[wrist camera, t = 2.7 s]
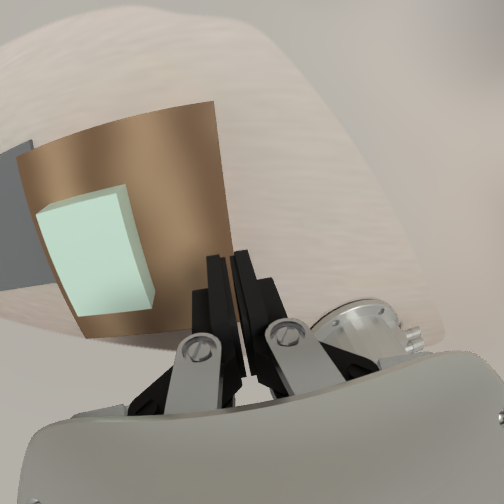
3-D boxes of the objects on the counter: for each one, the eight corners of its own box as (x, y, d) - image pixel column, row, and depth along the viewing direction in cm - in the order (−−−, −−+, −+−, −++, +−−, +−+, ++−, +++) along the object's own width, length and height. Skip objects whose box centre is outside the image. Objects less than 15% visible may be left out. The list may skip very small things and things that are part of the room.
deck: (212, 103, 18) (213, 100, 15) (238, 291, 26) (243, 321, 22) (42, 147, 17) (15, 157, 13) (97, 310, 25) (85, 338, 21)
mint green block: (125, 183, 16) (116, 193, 14) (155, 291, 20) (151, 308, 18) (49, 203, 16) (35, 214, 14) (85, 300, 19) (78, 316, 18)
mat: (31, 139, 16) (29, 140, 16) (73, 277, 23) (71, 279, 22) (-44, 179, 15) (-46, 181, 15) (-4, 289, 22) (-6, 291, 21)
